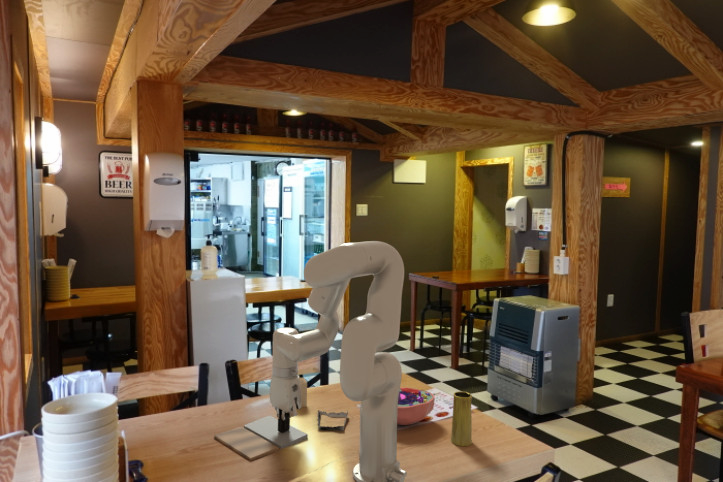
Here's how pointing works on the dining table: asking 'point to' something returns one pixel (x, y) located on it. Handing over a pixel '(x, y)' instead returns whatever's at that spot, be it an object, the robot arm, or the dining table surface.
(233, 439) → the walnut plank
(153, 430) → the dining table surface
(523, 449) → the dining table surface
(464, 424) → the vase
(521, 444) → the dining table surface
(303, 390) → the beige bottle
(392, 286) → the robot arm
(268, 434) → the grey flat slab
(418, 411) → the cell model
